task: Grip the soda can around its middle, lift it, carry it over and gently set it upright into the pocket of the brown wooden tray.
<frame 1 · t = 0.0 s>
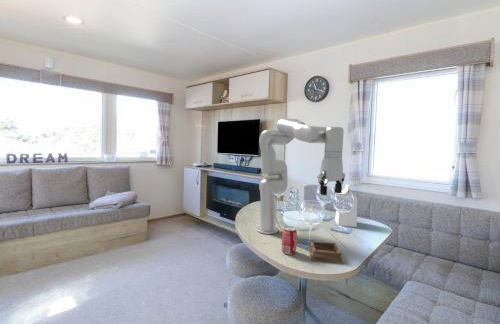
hand: (330, 193, 115), 31 cm above the table, tool pointing down, fingers open, 9 cm apart
milk: (345, 223, 175), on the table
soda can: (288, 252, 127), on the table
brown wooden tray: (324, 255, 124), on the table
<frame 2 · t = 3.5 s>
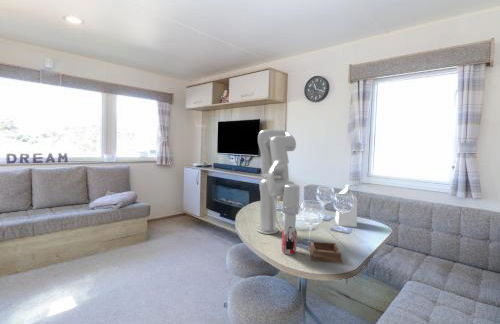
hand: (289, 245, 126), 3 cm above the table, tool pointing down, fingers closed on soda can, 7 cm apart
soda can: (288, 252, 126), on the table, touching gripper
everything else where it was.
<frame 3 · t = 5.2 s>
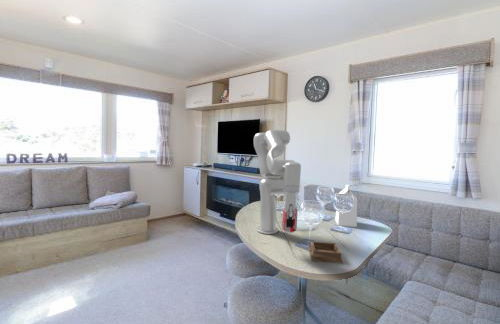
hand: (289, 223, 126), 14 cm above the table, tool pointing down, fingers closed on soda can, 7 cm apart
soda can: (289, 231, 126), point 10 cm above the table, touching gripper
everything else where it was.
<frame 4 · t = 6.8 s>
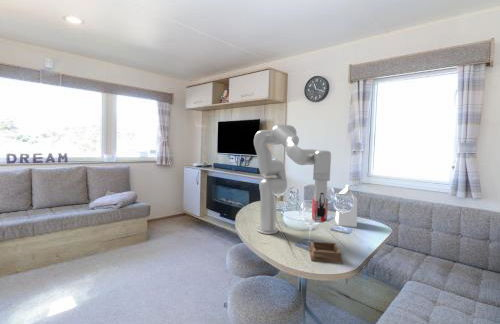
hand: (319, 213, 123), 20 cm above the table, tool pointing down, fingers closed on soda can, 7 cm apart
soda can: (319, 221, 123), point 16 cm above the table, touching gripper
everything else where it was.
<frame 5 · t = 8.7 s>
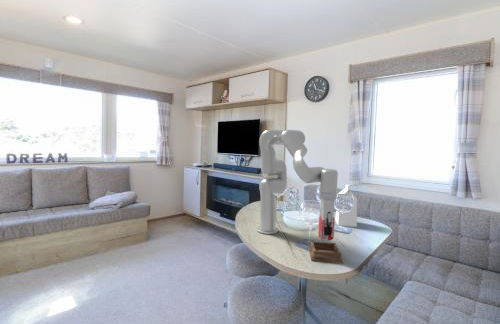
hand: (326, 231, 123), 11 cm above the table, tool pointing down, fingers closed on soda can, 7 cm apart
soda can: (325, 239, 124), point 8 cm above the table, touching gripper
everything else where it was.
when the fingers open (5 cm above the table, at t = 10.4 s): soda can stays where it is, resting on brown wooden tray.
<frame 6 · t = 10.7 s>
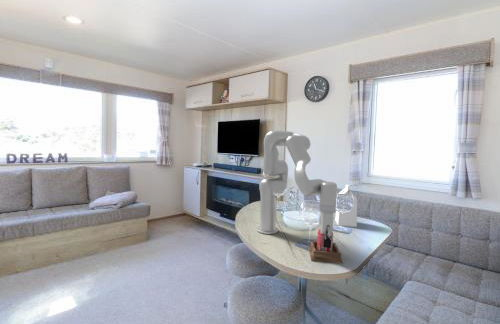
hand: (325, 243, 124), 6 cm above the table, tool pointing down, fingers open, 9 cm apart
soda can: (324, 253, 125), point 1 cm above the table, touching brown wooden tray
everything else where it was.
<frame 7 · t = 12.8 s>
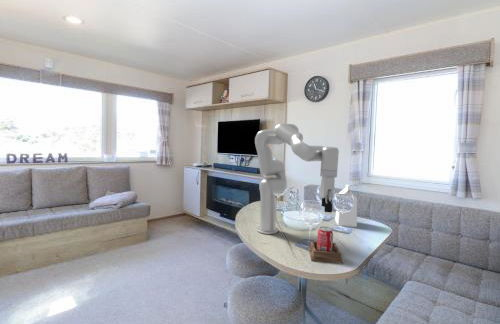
hand: (326, 209, 123), 22 cm above the table, tool pointing down, fingers open, 9 cm apart
nothing on the table moved.
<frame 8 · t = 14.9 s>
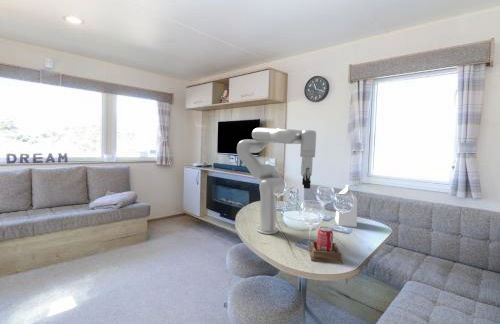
hand: (306, 186, 137), 30 cm above the table, tool pointing down, fingers open, 9 cm apart
nothing on the table moved.
at the end: soda can 0.2 cm off-centre on the brown wooden tray, point 0.8 cm above the brown wooden tray's base; soda can tilted 0°; the gripper is holding nothing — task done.
